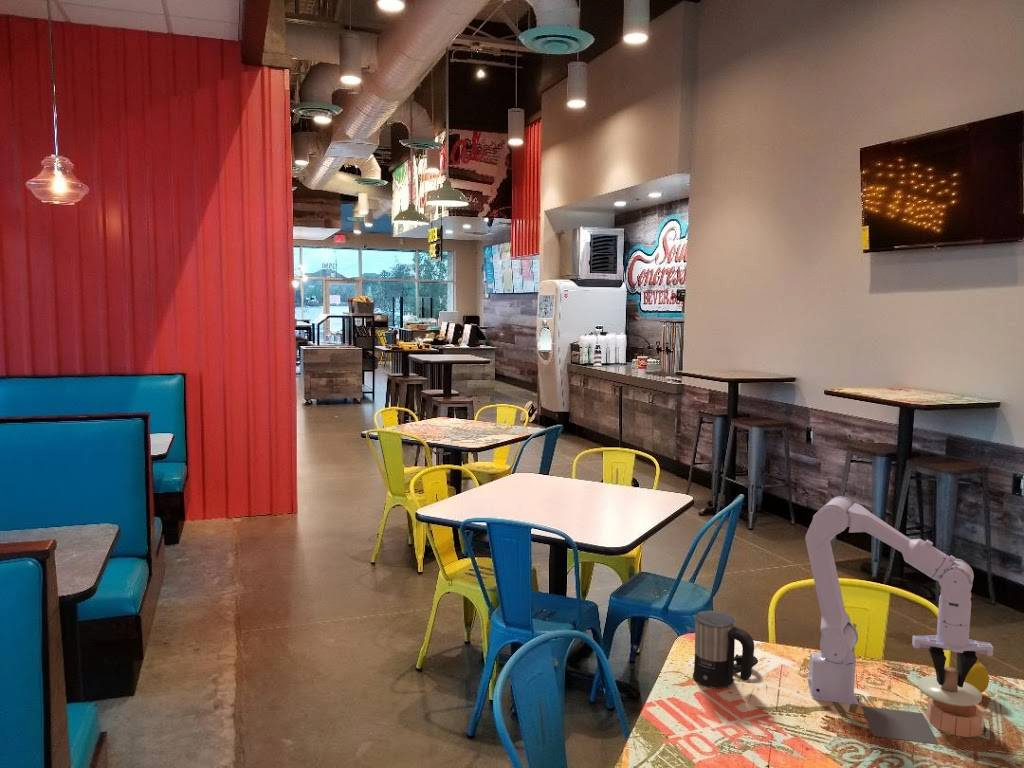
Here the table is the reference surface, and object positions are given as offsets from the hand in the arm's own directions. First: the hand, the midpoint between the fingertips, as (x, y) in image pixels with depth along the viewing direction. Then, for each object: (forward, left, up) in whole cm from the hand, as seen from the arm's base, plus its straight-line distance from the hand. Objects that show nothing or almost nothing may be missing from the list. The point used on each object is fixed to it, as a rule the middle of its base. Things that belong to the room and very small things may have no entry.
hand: (949, 683), depth 161 cm
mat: (-10, -3, -9) cm, 14 cm away
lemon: (+10, +16, -9) cm, 21 cm away
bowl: (+2, +1, -9) cm, 9 cm away
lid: (0, 0, -2) cm, 2 cm away
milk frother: (-44, +11, -9) cm, 46 cm away
